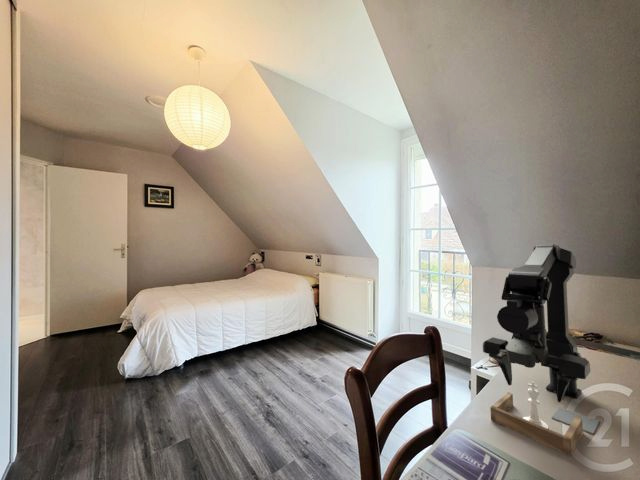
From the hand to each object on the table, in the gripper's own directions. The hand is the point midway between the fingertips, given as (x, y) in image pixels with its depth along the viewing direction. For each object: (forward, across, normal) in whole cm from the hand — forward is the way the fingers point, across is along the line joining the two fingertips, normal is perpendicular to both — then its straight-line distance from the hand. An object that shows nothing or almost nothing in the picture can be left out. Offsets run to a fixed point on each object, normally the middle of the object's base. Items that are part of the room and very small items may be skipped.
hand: (533, 392), depth 61 cm
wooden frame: (+7, 0, 0) cm, 7 cm away
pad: (+8, +5, +10) cm, 13 cm away
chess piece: (+8, 0, 0) cm, 8 cm away
